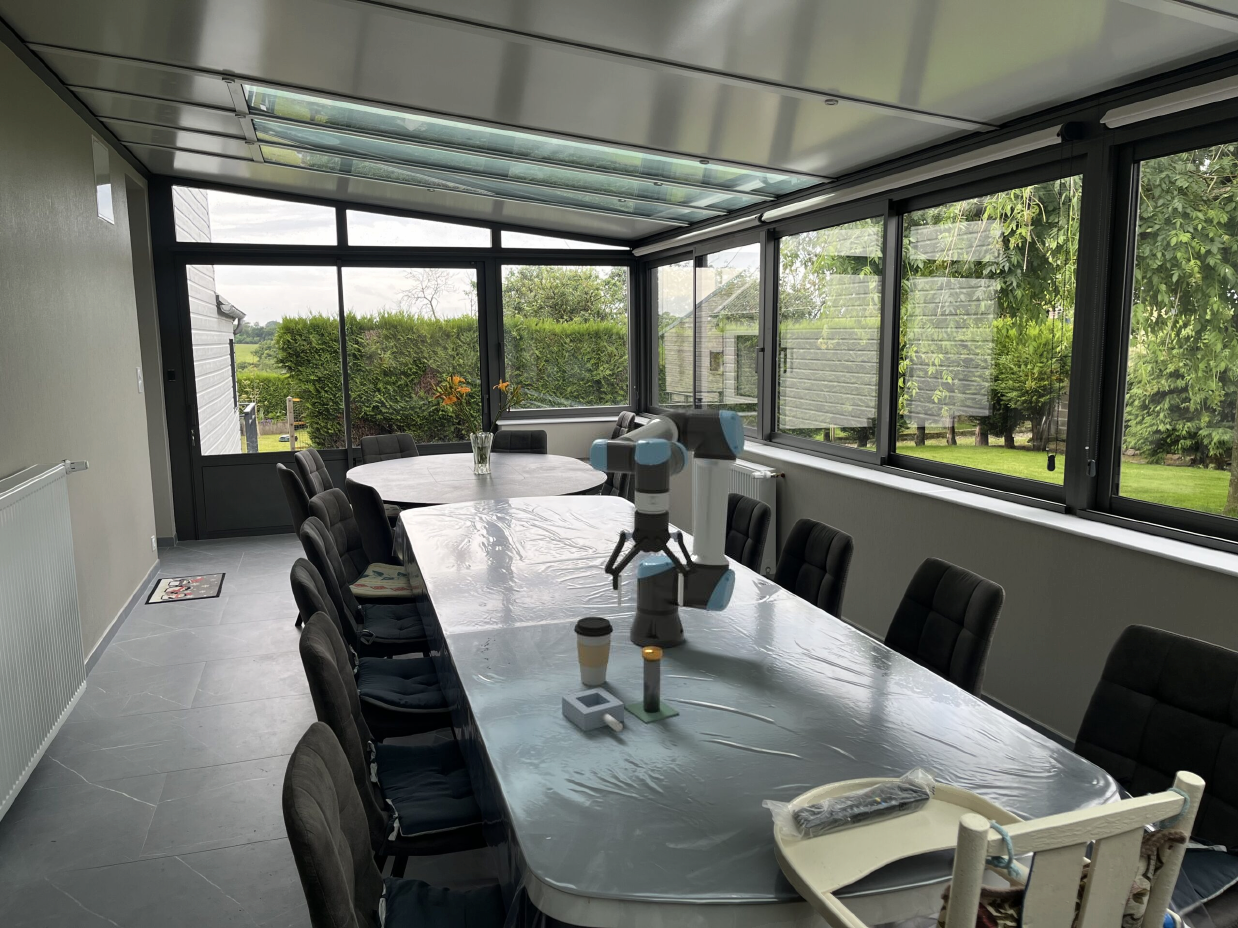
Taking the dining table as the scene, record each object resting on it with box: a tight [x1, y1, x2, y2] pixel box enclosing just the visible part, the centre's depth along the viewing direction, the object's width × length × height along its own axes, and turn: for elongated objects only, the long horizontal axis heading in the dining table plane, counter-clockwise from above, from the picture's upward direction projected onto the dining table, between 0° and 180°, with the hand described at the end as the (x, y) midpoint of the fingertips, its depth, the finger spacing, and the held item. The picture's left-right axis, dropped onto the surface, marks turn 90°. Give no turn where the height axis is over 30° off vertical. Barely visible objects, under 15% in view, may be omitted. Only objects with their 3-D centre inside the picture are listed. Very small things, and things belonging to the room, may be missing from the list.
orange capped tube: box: [641, 646, 663, 713], centre depth 187 cm, size 5×5×14 cm
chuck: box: [561, 686, 625, 733], centre depth 182 cm, size 16×10×4 cm, turn 32°
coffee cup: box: [573, 616, 614, 686], centre depth 203 cm, size 9×9×15 cm
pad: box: [624, 699, 680, 724], centre depth 188 cm, size 9×9×1 cm
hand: (649, 603), depth 185 cm, fingers open, 13 cm apart
